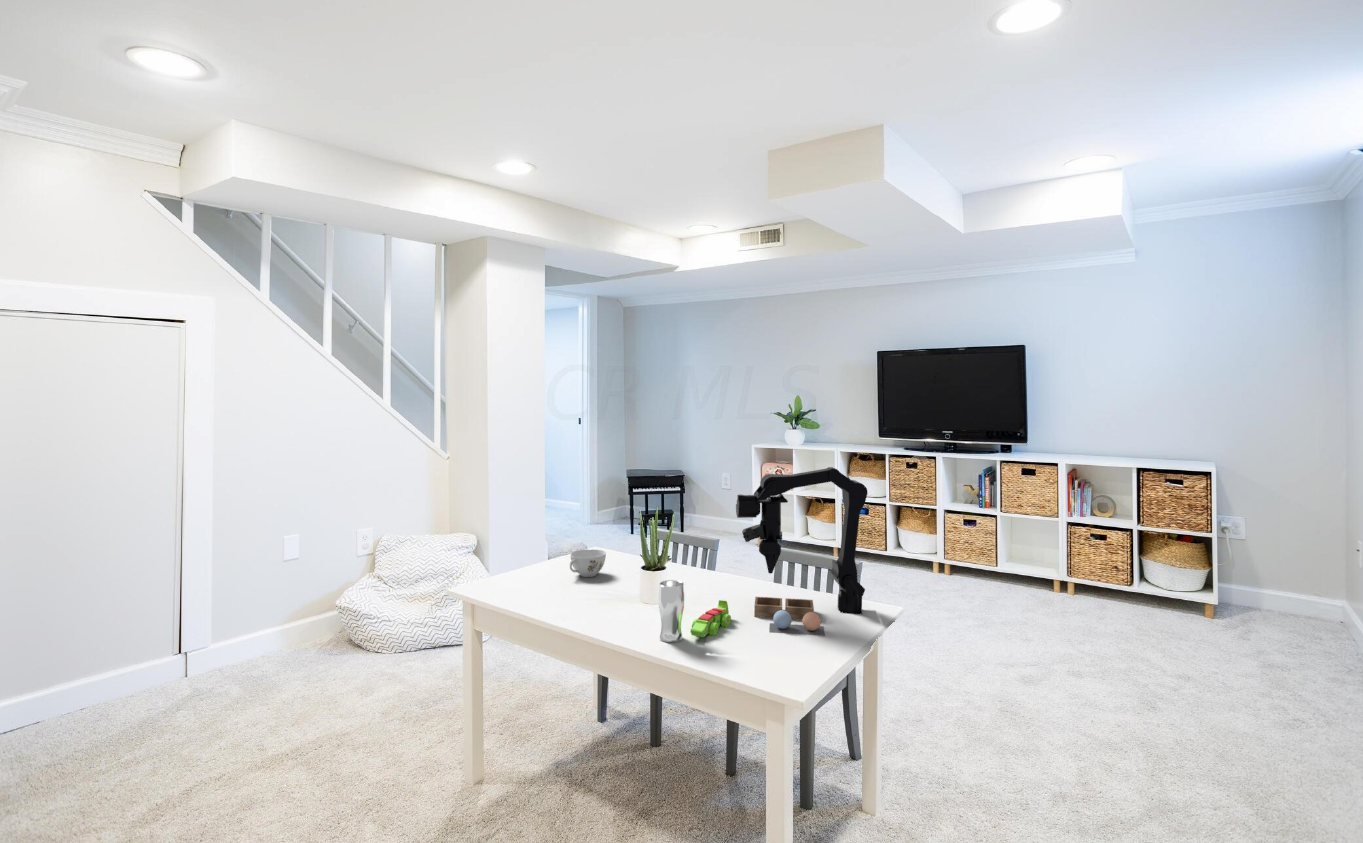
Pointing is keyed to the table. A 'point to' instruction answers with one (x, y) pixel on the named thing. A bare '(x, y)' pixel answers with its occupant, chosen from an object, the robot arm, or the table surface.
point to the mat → (796, 630)
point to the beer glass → (671, 610)
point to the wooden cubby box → (798, 607)
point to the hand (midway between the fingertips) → (771, 568)
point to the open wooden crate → (767, 606)
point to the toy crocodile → (711, 620)
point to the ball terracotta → (811, 621)
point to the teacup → (587, 562)
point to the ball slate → (782, 619)
